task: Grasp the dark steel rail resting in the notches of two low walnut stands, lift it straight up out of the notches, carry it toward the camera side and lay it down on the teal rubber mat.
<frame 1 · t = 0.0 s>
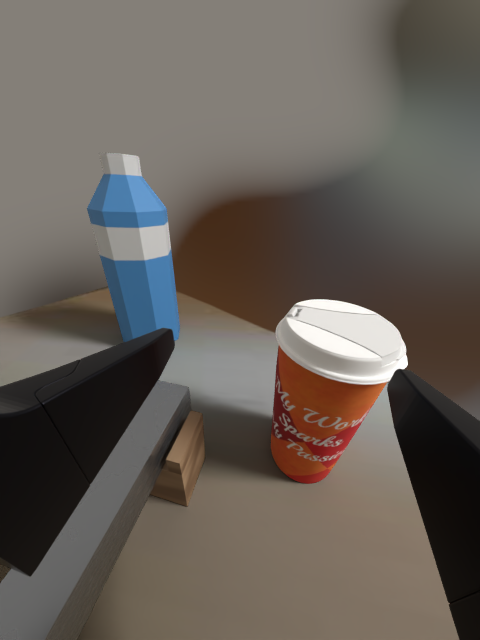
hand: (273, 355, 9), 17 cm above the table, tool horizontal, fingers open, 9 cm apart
stand 1: (166, 470, 20), on the table
water bottle: (153, 335, 39), on the table
rail: (87, 559, 12), point 5 cm above the table, touching stand 2, stand 1
coffee cup: (300, 451, 23), on the table
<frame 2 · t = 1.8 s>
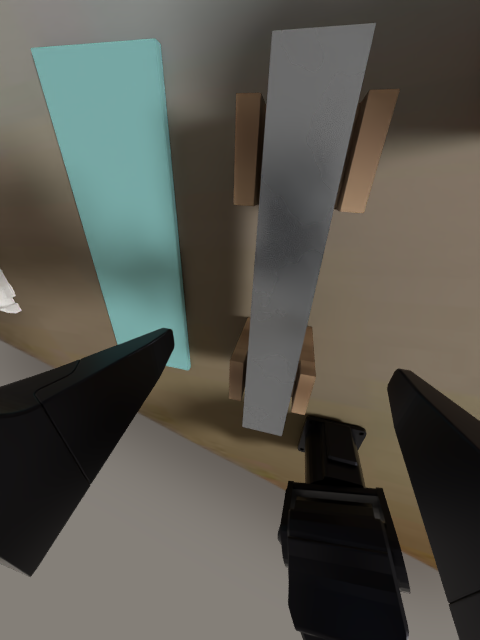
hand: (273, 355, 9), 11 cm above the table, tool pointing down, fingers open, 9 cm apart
stand 2: (276, 339, 22), on the table
stand 1: (302, 168, 15), on the table
mat: (136, 253, 21), on the table
rail: (282, 294, 14), point 5 cm above the table, touching stand 2, stand 1
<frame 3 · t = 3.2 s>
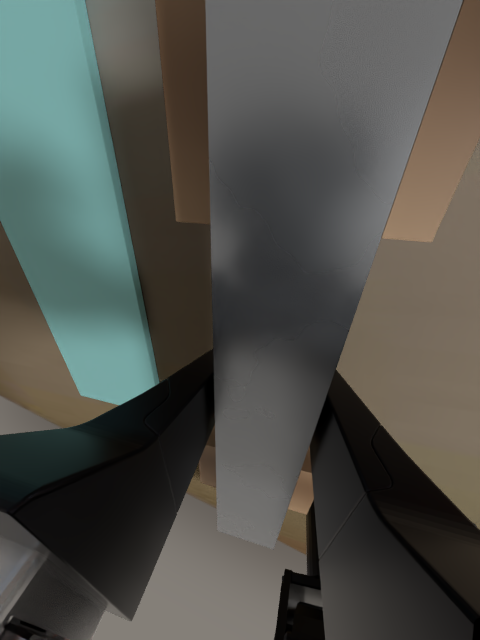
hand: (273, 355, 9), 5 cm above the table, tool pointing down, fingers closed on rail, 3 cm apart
stand 2: (269, 386, 17), on the table
stand 1: (304, 159, 10), on the table
mat: (83, 275, 16), on the table
rail: (273, 355, 9), point 5 cm above the table, touching gripper, stand 2, stand 1
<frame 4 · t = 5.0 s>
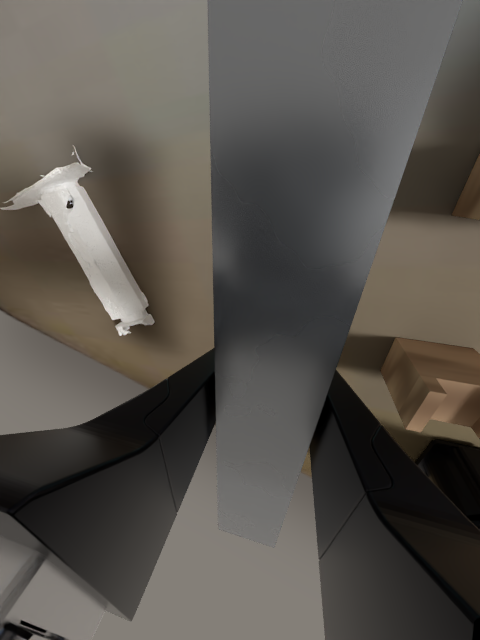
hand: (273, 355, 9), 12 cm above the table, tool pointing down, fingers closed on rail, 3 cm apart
stand 2: (423, 360, 21), on the table
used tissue: (95, 254, 25), on the table
rail: (274, 352, 9), point 12 cm above the table, touching gripper
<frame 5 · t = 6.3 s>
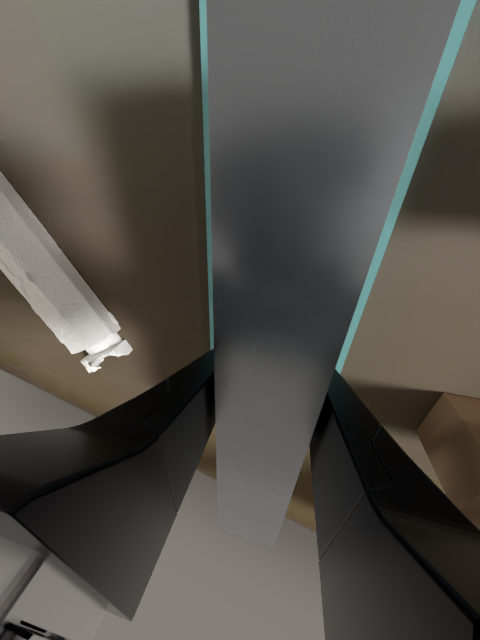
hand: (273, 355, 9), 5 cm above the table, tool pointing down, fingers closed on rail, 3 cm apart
stand 2: (479, 423, 15), on the table
mat: (281, 298, 14), on the table
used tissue: (41, 266, 18), on the table
rail: (273, 352, 9), point 5 cm above the table, touching gripper
when the fingers open (2 cm above the table, at t = 7.2 s): rail drops 1 cm, resting on mat.
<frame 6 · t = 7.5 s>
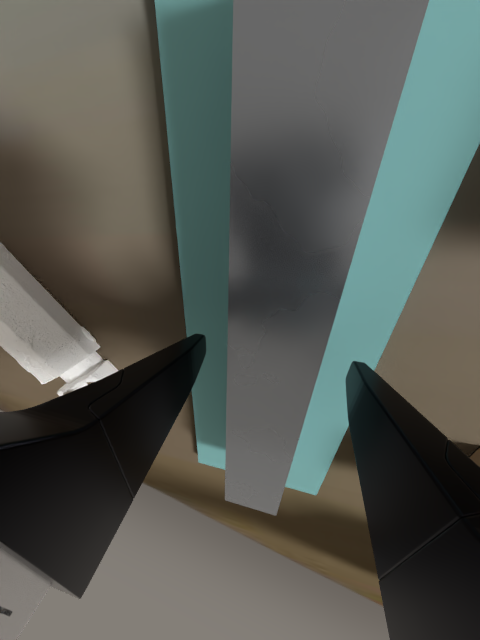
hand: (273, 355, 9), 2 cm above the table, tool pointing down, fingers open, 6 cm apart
mat: (277, 329, 11), on the table
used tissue: (0, 280, 15), on the table
rail: (276, 335, 10), point 1 cm above the table, touching mat
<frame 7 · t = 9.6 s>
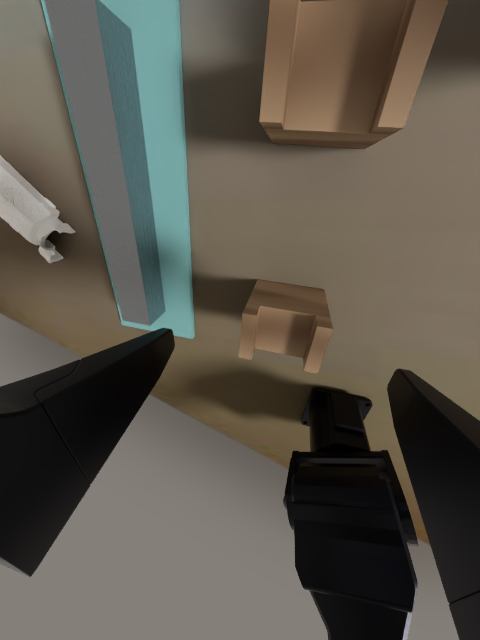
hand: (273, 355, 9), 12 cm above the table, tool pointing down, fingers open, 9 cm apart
stand 2: (286, 303, 21), on the table
stand 1: (326, 105, 14), on the table
mat: (141, 207, 20), on the table
rail: (137, 207, 19), point 1 cm above the table, touching mat
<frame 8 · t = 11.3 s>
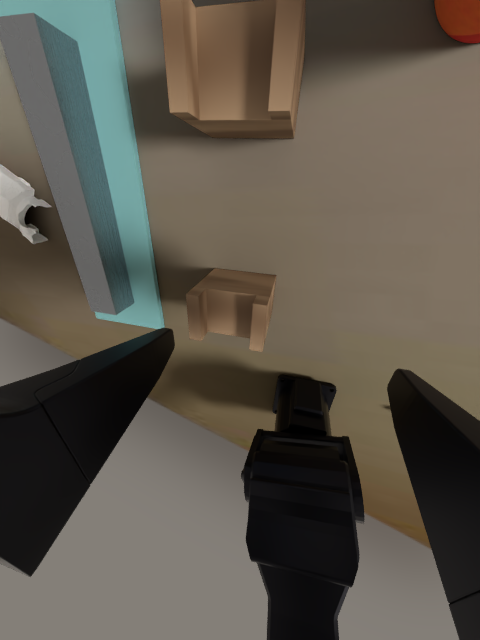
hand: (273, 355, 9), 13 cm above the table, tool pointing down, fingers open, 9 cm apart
stand 2: (243, 291, 22), on the table
stand 1: (253, 100, 15), on the table
mat: (103, 204, 21), on the table
rail: (98, 203, 21), point 1 cm above the table, touching mat
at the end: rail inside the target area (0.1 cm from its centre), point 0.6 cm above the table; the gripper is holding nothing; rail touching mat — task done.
